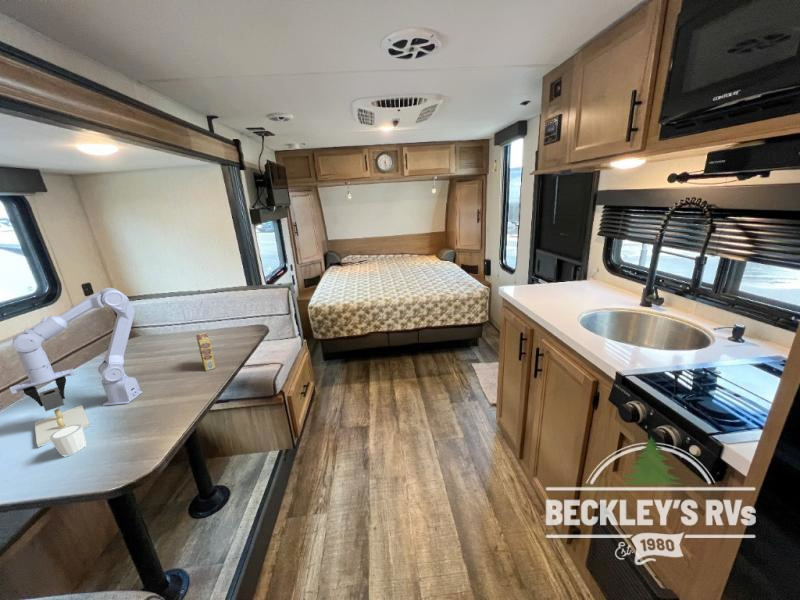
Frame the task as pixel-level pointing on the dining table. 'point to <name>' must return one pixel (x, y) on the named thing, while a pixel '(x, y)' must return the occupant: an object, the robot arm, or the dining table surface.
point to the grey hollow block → (51, 399)
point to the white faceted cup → (69, 439)
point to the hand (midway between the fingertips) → (53, 401)
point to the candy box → (205, 351)
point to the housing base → (59, 423)
